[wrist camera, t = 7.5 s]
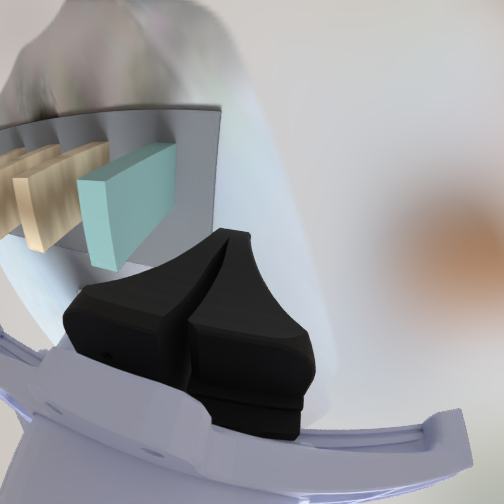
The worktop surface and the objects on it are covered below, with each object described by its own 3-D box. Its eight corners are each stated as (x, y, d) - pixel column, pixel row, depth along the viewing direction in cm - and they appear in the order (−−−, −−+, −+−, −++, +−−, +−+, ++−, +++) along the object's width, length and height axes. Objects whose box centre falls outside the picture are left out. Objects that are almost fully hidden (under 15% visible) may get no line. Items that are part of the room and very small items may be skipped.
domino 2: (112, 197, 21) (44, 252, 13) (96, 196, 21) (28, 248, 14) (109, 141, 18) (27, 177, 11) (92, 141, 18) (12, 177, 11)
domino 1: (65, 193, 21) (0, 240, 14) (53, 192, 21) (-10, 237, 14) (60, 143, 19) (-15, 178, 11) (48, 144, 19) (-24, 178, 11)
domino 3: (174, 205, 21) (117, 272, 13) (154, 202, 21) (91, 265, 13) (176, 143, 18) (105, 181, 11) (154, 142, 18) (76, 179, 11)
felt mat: (210, 274, 25) (209, 277, 24) (4, 230, 26) (3, 232, 25) (221, 111, 17) (219, 111, 17) (-12, 133, 18) (-15, 134, 18)
